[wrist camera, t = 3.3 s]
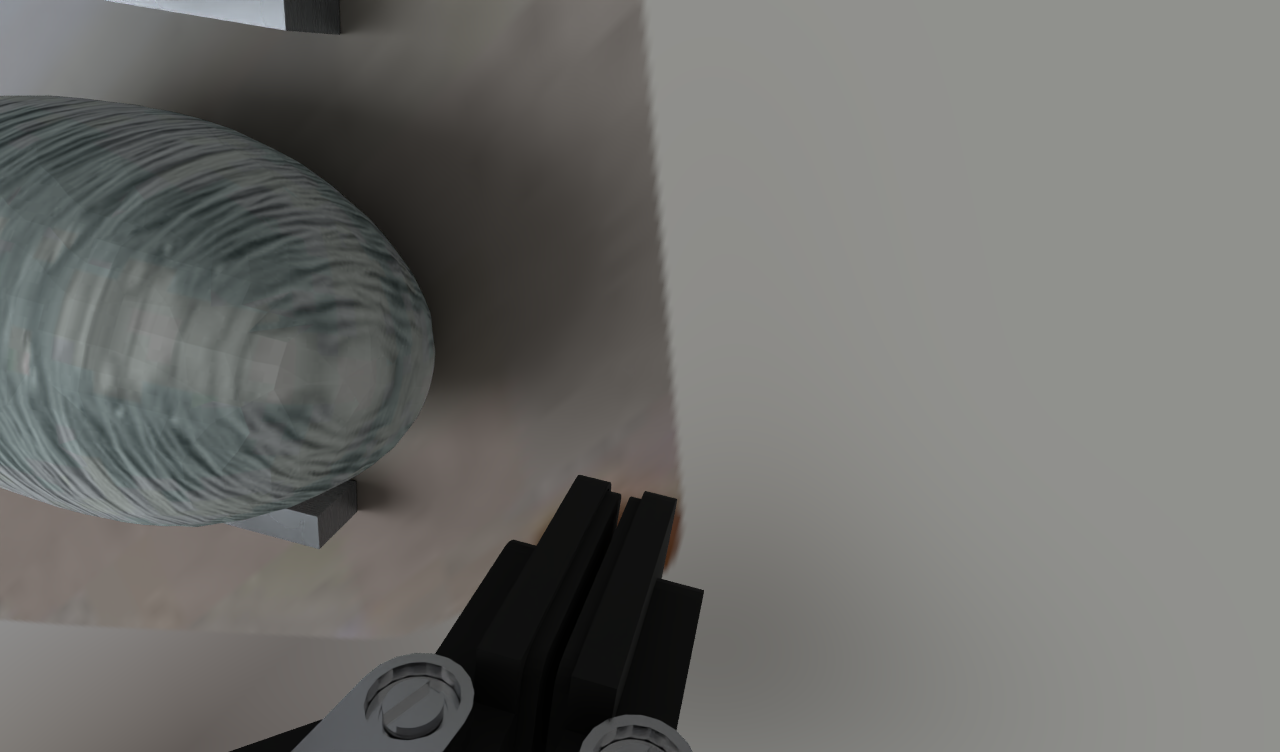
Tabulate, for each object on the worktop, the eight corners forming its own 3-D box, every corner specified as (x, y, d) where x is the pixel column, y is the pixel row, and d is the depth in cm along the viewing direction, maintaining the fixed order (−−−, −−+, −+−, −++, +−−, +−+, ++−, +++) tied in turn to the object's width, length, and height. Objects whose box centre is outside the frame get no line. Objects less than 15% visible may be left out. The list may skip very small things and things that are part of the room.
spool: (-61, 416, 20) (-601, 467, 11) (32, 104, 21) (-413, -129, 11) (408, 522, 23) (324, 645, 13) (487, 241, 23) (463, 151, 13)
